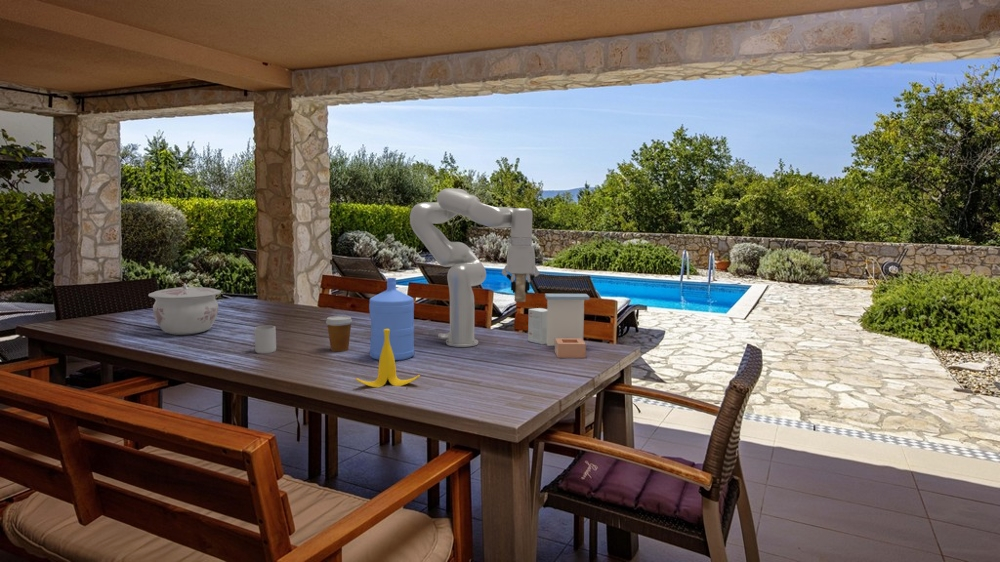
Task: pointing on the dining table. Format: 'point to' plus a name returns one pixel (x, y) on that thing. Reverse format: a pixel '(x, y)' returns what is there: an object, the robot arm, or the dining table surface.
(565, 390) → the dining table surface
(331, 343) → the disposable coffee cup
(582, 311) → the lidded rectangular box
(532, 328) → the small box
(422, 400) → the dining table surface
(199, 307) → the chamber pot
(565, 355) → the socket
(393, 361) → the banana peel
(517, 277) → the peg
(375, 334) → the water jug
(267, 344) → the cup
